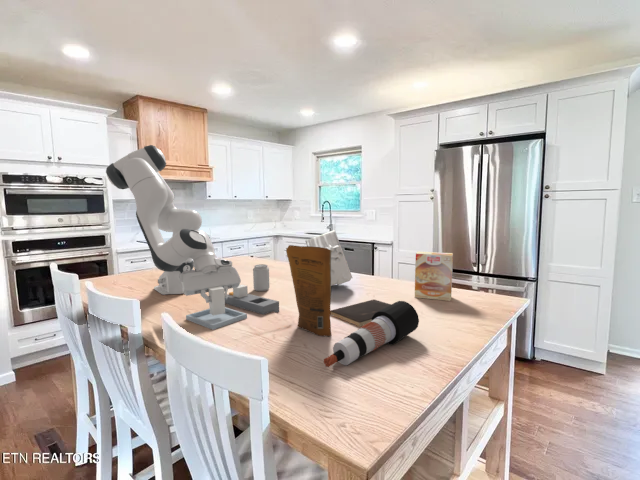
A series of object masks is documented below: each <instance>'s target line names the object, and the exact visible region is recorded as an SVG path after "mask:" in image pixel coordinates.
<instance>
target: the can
mask: <svg viewBox="0 0 640 480" xmlns="http://www.w3.org/2000/svg"><path fill="white" fill-rule="evenodd" d="M252 277H253V280H252V281H253V290H254V291H256V292H267V291H268V290H269V289H270V268H269V267H268V264H255V265H253V269H252Z"/></svg>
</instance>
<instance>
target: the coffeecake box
mask: <svg viewBox="0 0 640 480" xmlns="http://www.w3.org/2000/svg"><path fill="white" fill-rule="evenodd" d="M453 260H454V253H453V252H438V251H437V252H436V251H435V252H434V251H433V252H432V251H416V252H415V267H414V268H415V269H414V271H415V273H414V298H418V299H425V300H429V299H430V300H437V301H447V302H451V301H452V289H453V286H452V285H453V263H454V261H453Z"/></svg>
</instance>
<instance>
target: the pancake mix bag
mask: <svg viewBox="0 0 640 480" xmlns="http://www.w3.org/2000/svg"><path fill="white" fill-rule="evenodd" d="M285 249H286V250H285V251H286V253H285V254H286V257H287V260H288V264H289V268H290V275H291V279H292V284H293V289H294V294H295V295H294V296H295V300H296V305H297V310H298V318H297V319H298V320H297V327H298V328H299V329H301V330H305V331H307V332H309V333H312V334H314V335H316V336H319V337H329V336H332V335H333V334H332V328H331V326H332V324H331V315H330V311H331V302H332V301H331V300H332V299H331V298H332V297H331V296H332V286H331V252H332V251H331V250H329V249H327V248H322V247H311V246H307V245H306V246H305V245H304V246H303V245H302V246H300V245H293V244H288V246H287V247H286V248H285Z"/></svg>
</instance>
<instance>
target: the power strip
mask: <svg viewBox="0 0 640 480" xmlns="http://www.w3.org/2000/svg"><path fill="white" fill-rule="evenodd" d="M248 292H249V291H248V285H244V284H240V285H239V286H238V287H236V288H232V291H231V292H229V293H227V295H228V298H227V299H226V300H225V305H229V306H233V307H236V308H239V309H242V310H243V309H244V310H246V311H249V312H253V313H257V314H260V315H263V316H264V315H266V314H270V313H272V312H274V313H279V312H280V301H278V300H276V299H275V300H274V299H270V298H267V297H264V296H263V297H262V296H259V295H254V294H251V293H248Z"/></svg>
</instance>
